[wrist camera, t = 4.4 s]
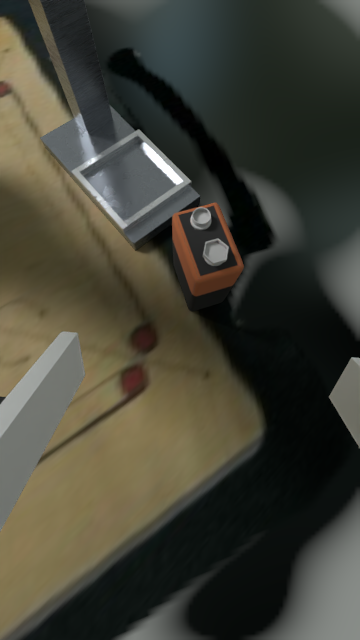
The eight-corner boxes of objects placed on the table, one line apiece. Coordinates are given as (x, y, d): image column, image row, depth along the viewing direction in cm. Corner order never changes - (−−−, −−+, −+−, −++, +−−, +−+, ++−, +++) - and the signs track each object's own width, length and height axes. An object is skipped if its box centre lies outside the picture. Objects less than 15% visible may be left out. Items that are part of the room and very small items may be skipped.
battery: (189, 313, 28) (196, 279, 18) (171, 262, 29) (169, 204, 19) (224, 302, 28) (250, 263, 18) (205, 252, 30) (220, 191, 20)
